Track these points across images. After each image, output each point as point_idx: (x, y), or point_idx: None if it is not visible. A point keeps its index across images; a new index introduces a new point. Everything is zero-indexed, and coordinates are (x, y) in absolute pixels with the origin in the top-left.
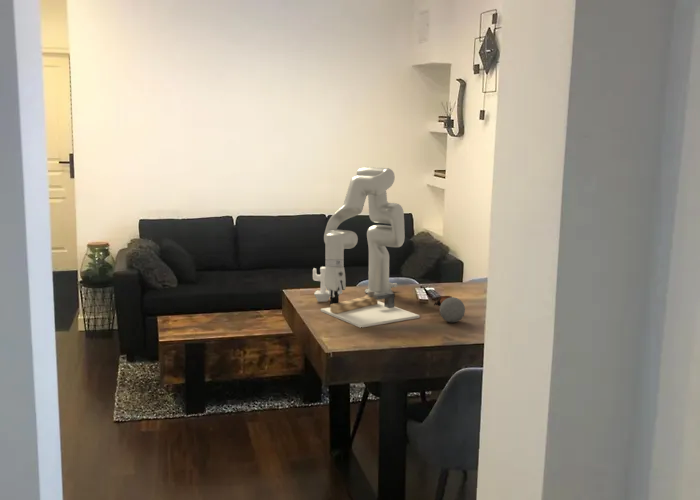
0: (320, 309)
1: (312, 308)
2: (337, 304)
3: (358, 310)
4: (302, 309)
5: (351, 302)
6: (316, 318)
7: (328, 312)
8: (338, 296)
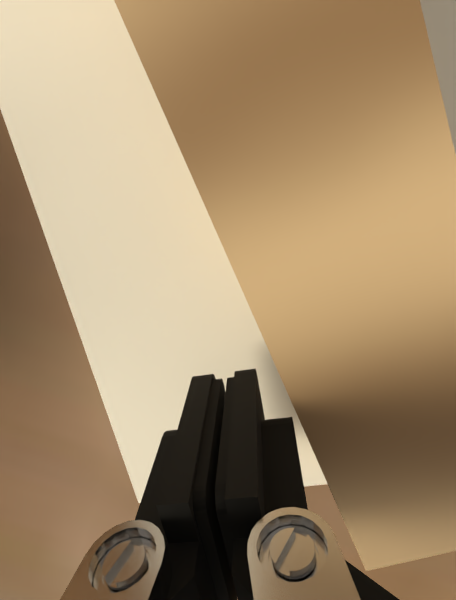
0: (140, 496)
1: (10, 503)
2: (431, 486)
3: (452, 31)
4: (33, 582)
5: (430, 156)
6: (406, 595)
7: (321, 480)
8: (329, 541)
